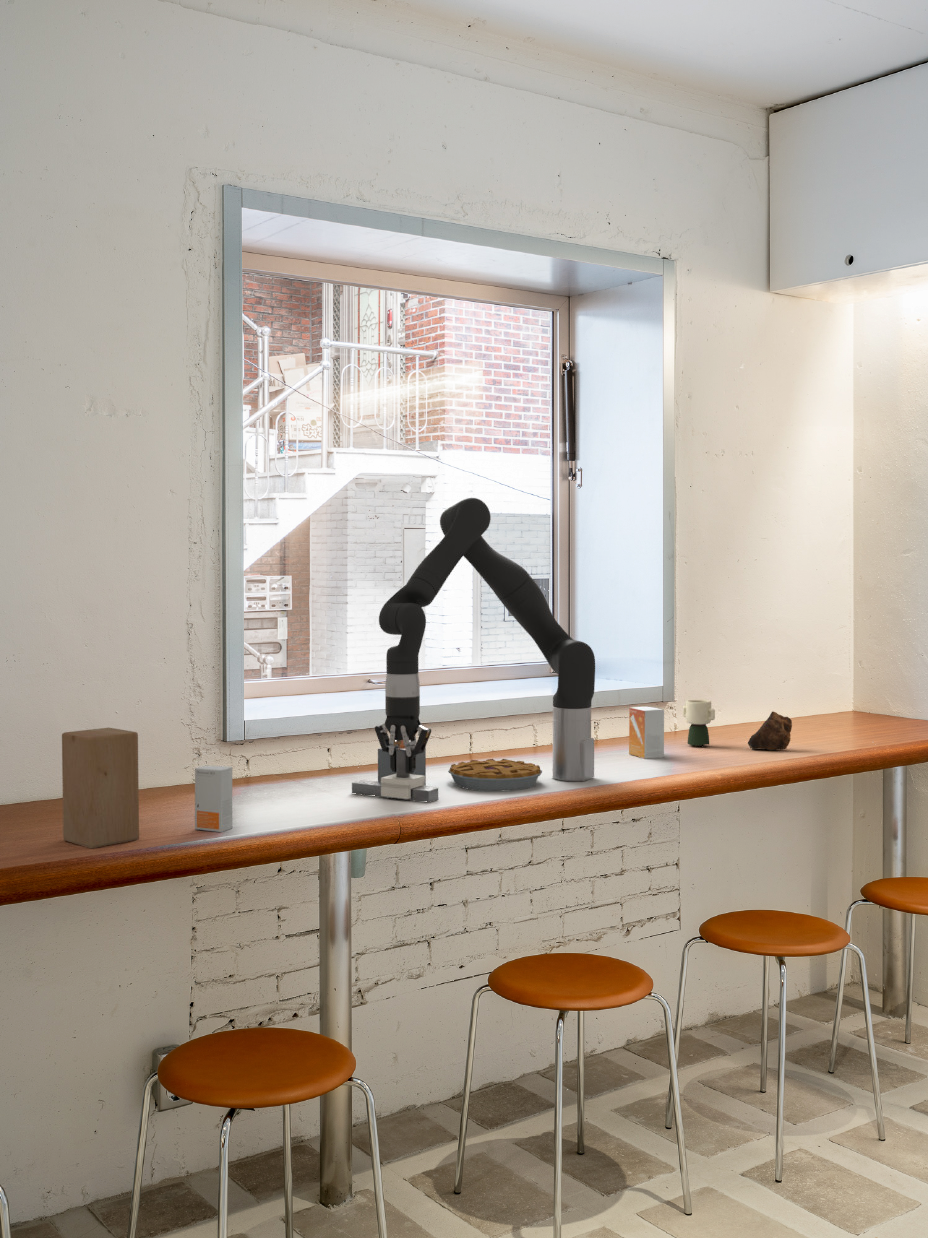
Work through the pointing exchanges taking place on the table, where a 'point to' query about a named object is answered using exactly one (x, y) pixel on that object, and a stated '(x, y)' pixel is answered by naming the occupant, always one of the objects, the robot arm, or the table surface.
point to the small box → (646, 732)
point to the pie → (495, 775)
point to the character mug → (698, 720)
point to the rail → (375, 789)
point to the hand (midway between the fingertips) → (402, 772)
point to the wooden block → (100, 787)
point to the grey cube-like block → (386, 771)
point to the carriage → (400, 779)
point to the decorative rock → (772, 733)
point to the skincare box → (213, 798)
